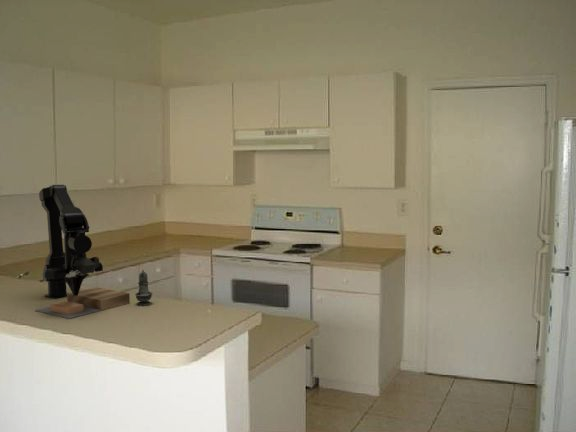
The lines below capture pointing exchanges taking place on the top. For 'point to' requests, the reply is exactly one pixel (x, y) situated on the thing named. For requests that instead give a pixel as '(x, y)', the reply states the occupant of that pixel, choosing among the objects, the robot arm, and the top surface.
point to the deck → (99, 298)
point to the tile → (66, 307)
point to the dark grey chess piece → (143, 290)
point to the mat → (86, 311)
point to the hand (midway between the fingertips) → (75, 295)
